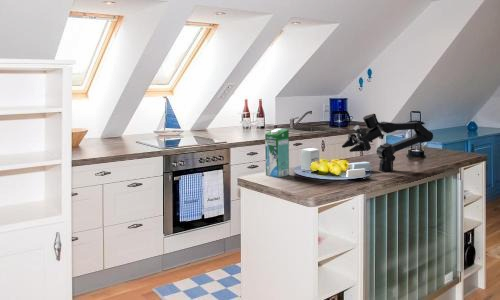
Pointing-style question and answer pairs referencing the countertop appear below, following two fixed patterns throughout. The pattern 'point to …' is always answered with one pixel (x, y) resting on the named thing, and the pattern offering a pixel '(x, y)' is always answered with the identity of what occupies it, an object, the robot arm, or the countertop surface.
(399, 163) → the countertop surface
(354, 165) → the pale blue block
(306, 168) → the supplement box
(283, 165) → the milk carton
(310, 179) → the countertop surface
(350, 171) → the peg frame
